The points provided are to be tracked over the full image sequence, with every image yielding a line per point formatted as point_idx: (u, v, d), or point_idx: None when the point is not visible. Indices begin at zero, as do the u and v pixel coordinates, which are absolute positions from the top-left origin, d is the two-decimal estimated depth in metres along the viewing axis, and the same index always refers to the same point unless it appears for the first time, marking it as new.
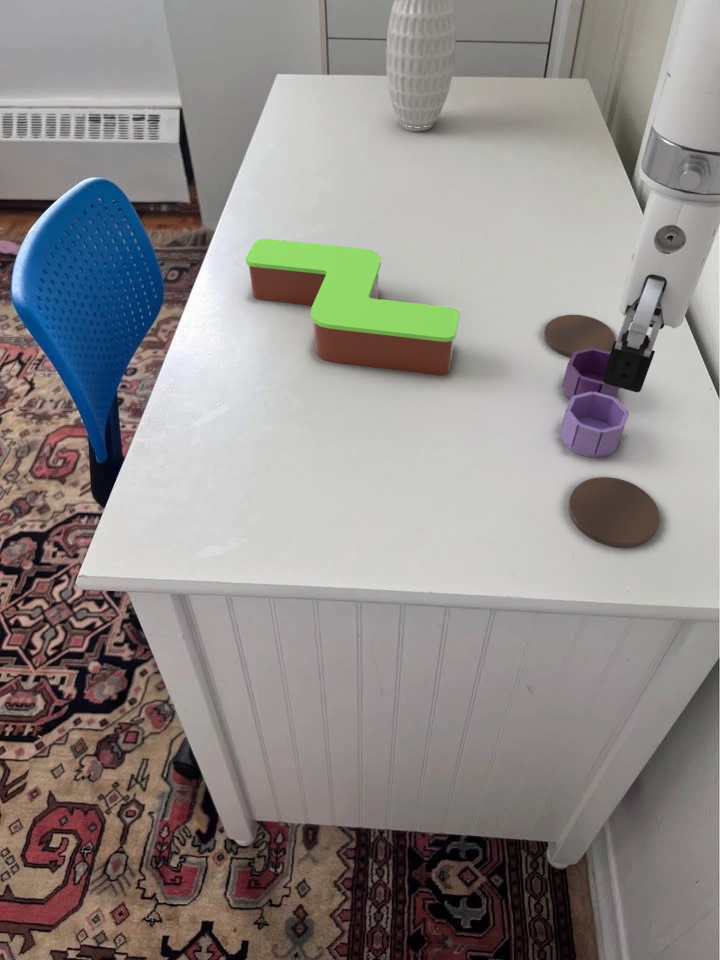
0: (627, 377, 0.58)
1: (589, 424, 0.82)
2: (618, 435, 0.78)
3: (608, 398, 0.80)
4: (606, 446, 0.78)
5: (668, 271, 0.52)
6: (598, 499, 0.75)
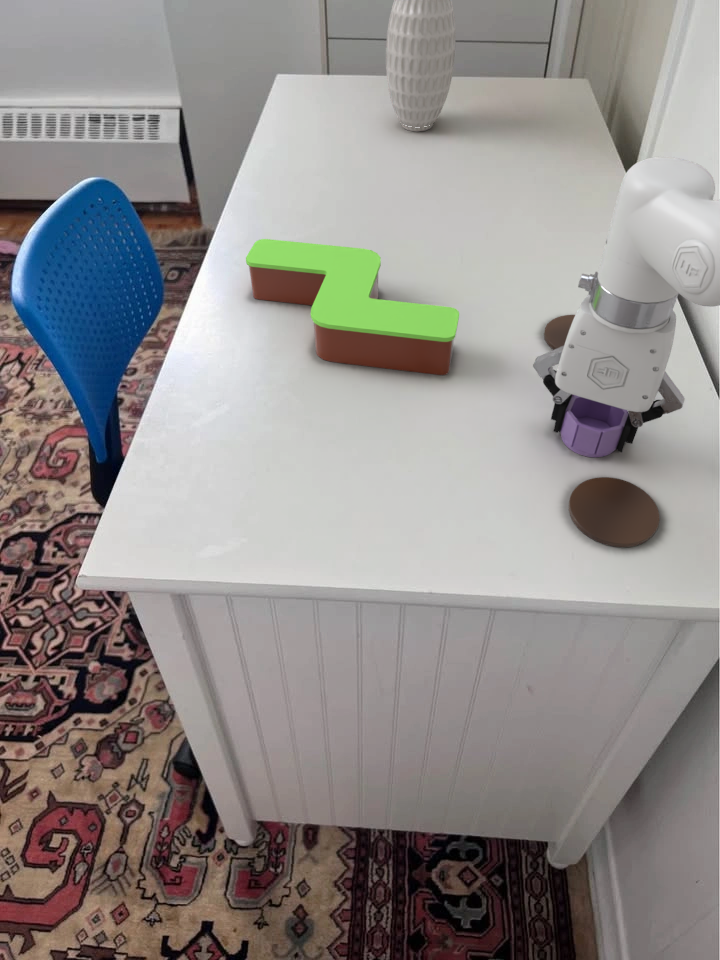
0: None
1: (589, 424, 0.82)
2: (618, 435, 0.78)
3: None
4: (606, 446, 0.78)
5: None
6: (598, 499, 0.75)
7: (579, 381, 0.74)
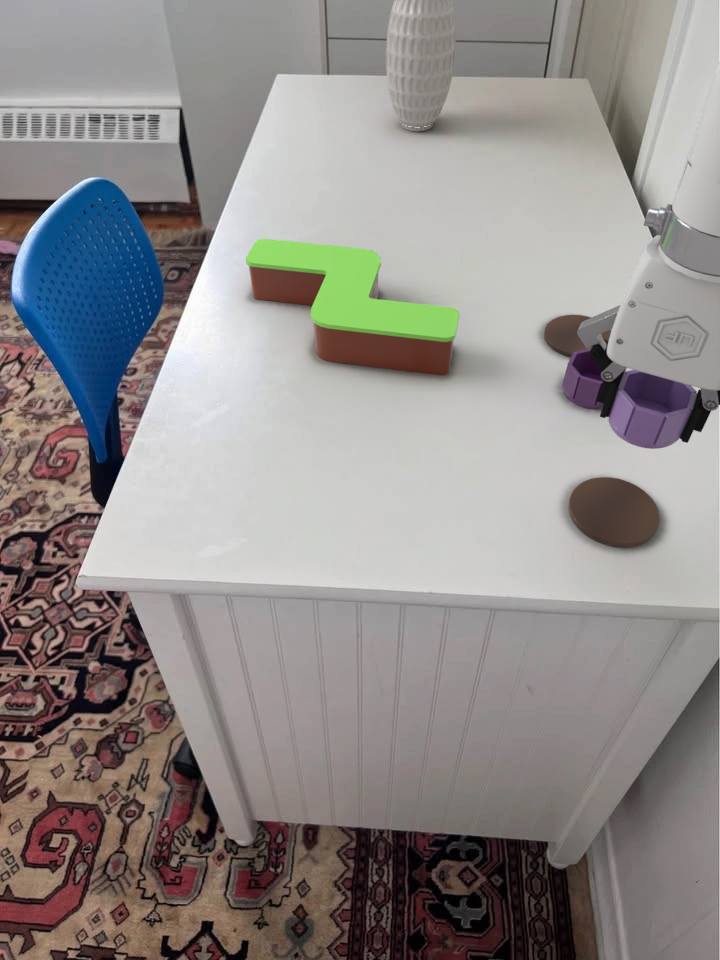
0: None
1: (644, 408, 0.66)
2: (684, 421, 0.61)
3: None
4: (668, 435, 0.62)
5: None
6: (598, 499, 0.75)
7: (639, 350, 0.58)
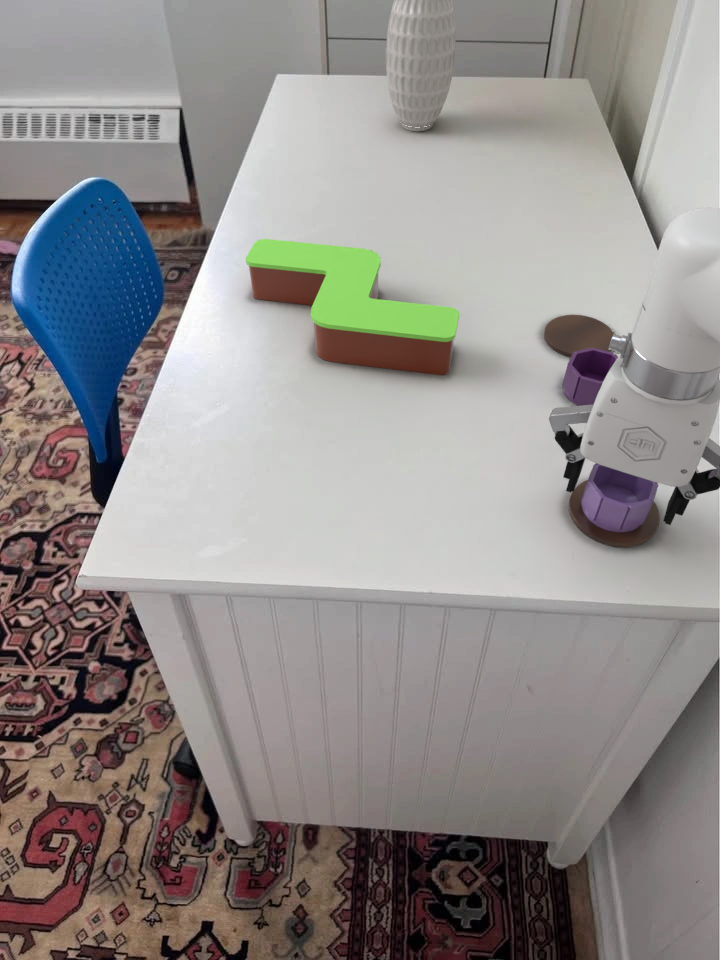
0: None
1: (613, 493, 0.74)
2: (646, 510, 0.70)
3: None
4: (633, 521, 0.71)
5: None
6: None
7: (608, 451, 0.65)
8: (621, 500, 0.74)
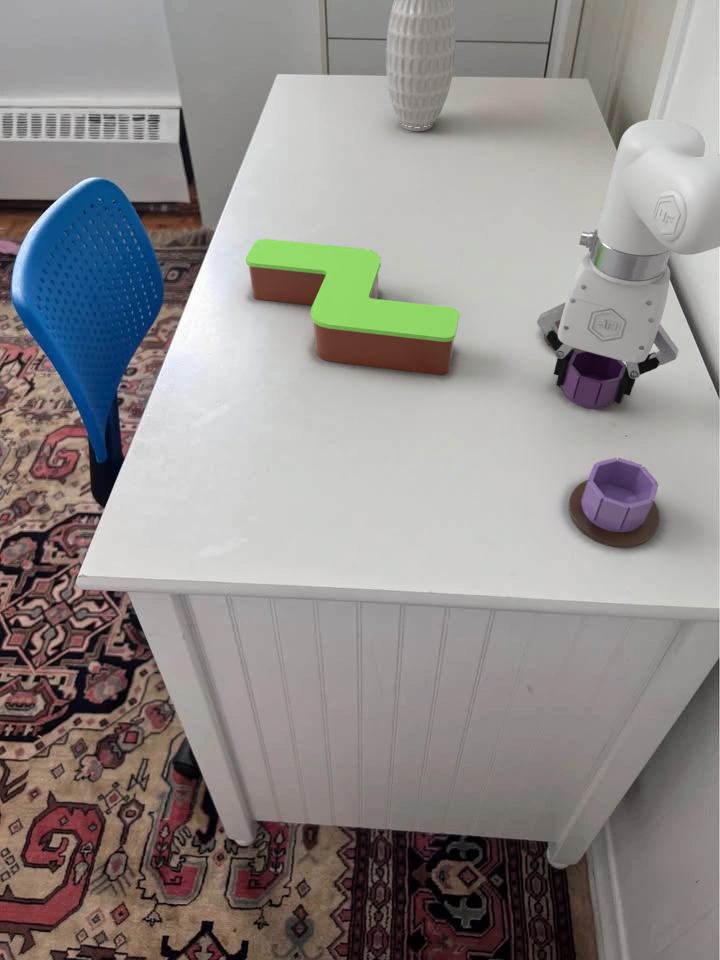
0: None
1: (613, 493, 0.74)
2: (646, 510, 0.70)
3: (634, 466, 0.72)
4: (633, 521, 0.71)
5: None
6: None
7: (580, 334, 0.79)
8: (621, 500, 0.74)
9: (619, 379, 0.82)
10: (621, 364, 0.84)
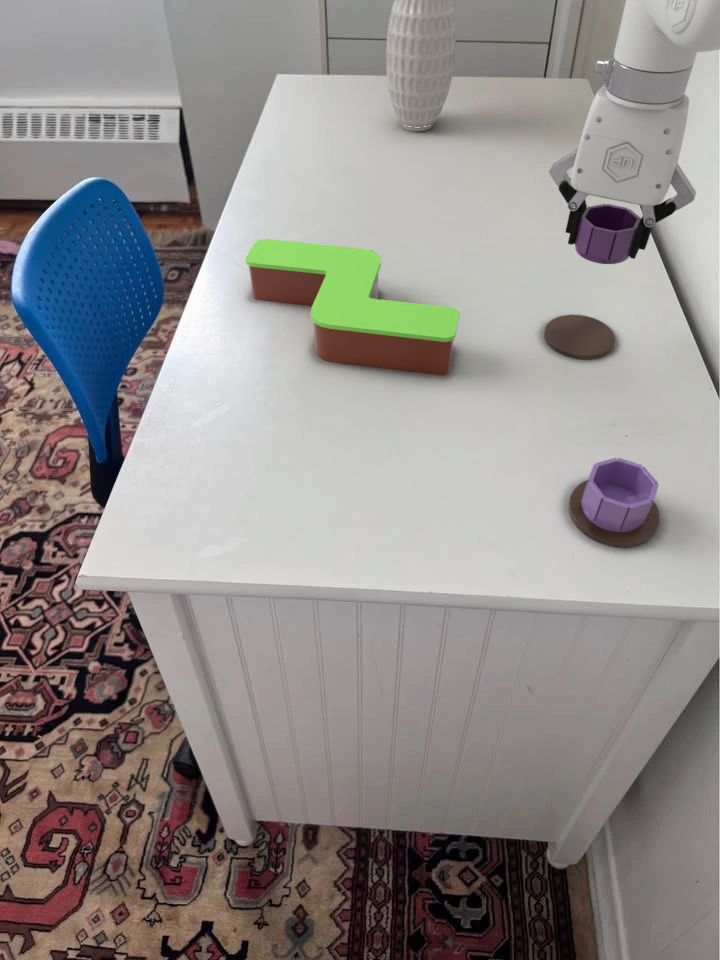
0: None
1: (613, 493, 0.74)
2: (646, 510, 0.70)
3: (634, 466, 0.72)
4: (633, 521, 0.71)
5: None
6: None
7: (594, 177, 0.77)
8: (621, 500, 0.74)
9: (634, 229, 0.80)
10: (636, 217, 0.82)
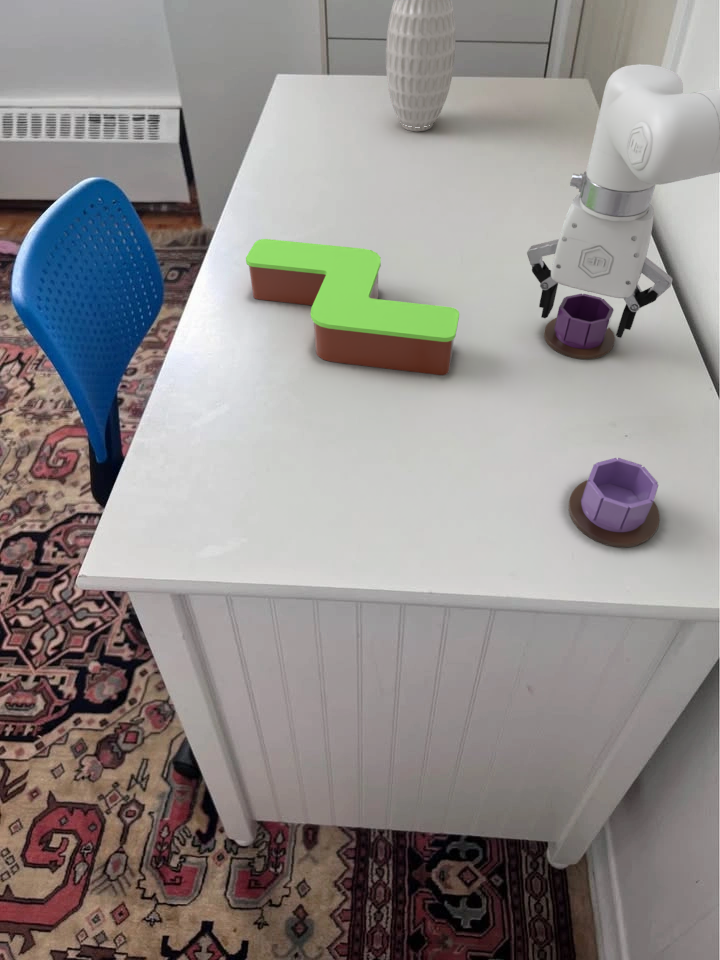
0: None
1: (613, 493, 0.74)
2: (646, 510, 0.70)
3: (634, 466, 0.72)
4: (633, 521, 0.71)
5: None
6: None
7: (571, 272, 0.86)
8: (621, 500, 0.74)
9: (606, 320, 0.89)
10: (608, 307, 0.91)
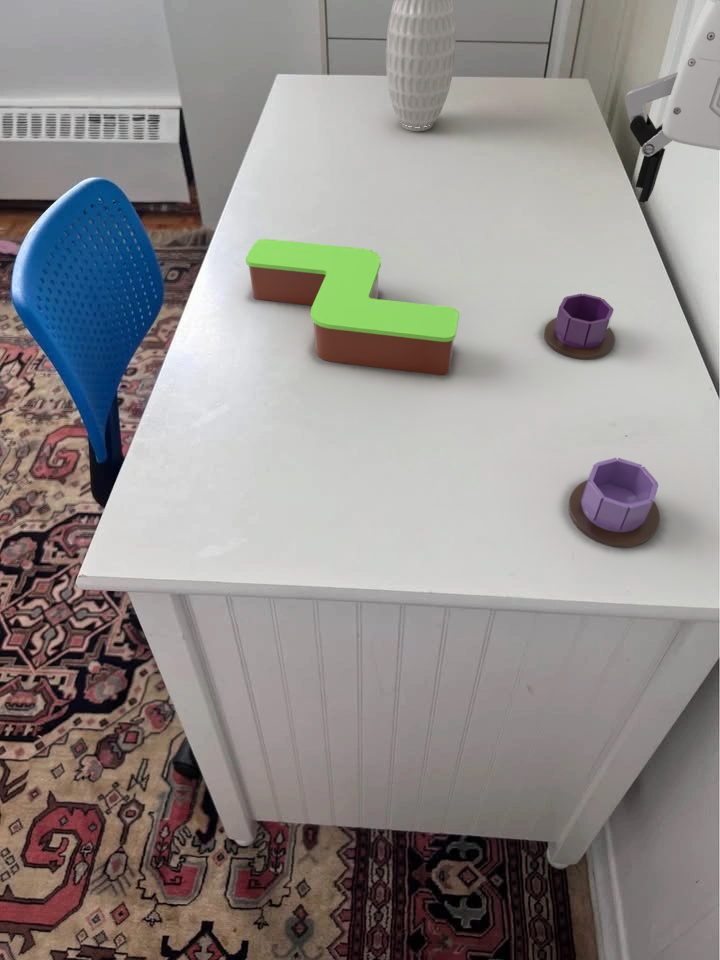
0: None
1: (613, 493, 0.74)
2: (646, 510, 0.70)
3: (634, 466, 0.72)
4: (633, 521, 0.71)
5: None
6: None
7: (697, 118, 0.57)
8: (621, 500, 0.74)
9: (606, 320, 0.89)
10: (608, 307, 0.91)
